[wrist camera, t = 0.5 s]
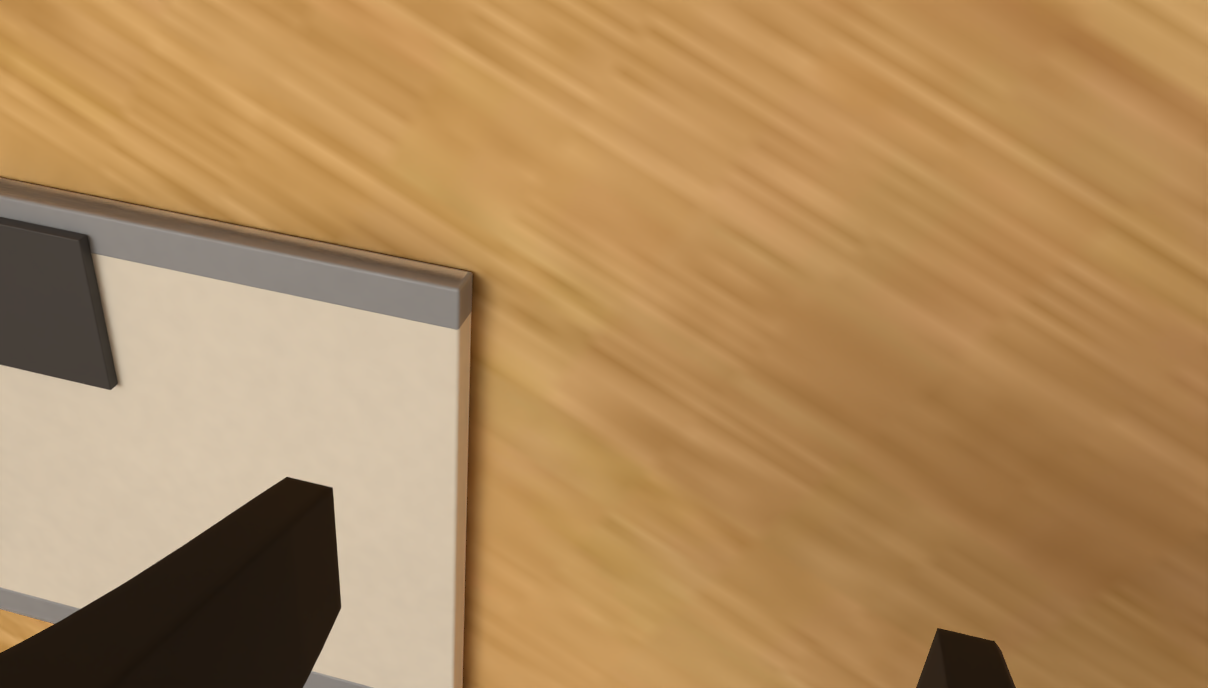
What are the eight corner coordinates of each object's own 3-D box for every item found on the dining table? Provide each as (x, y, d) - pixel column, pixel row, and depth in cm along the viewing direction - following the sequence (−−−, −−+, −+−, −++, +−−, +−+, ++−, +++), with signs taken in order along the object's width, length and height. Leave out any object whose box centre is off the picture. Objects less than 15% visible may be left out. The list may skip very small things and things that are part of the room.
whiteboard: (463, 709, 30) (452, 733, 29) (-150, 544, 33) (-174, 562, 32) (473, 271, 22) (459, 290, 21) (-325, 111, 25) (-360, 123, 25)
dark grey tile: (118, 384, 25) (110, 391, 25) (7, 358, 26) (-2, 364, 25) (87, 234, 23) (79, 239, 23) (-34, 209, 23) (-44, 215, 23)
